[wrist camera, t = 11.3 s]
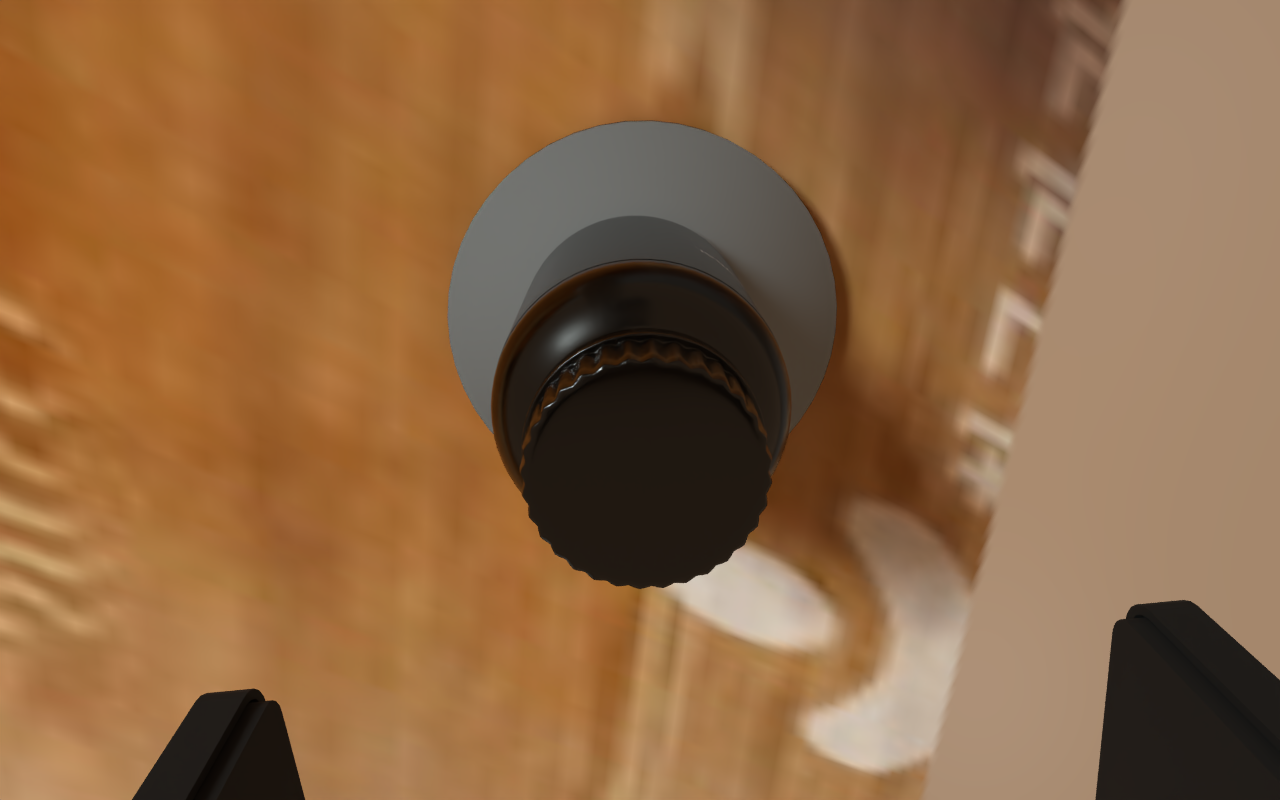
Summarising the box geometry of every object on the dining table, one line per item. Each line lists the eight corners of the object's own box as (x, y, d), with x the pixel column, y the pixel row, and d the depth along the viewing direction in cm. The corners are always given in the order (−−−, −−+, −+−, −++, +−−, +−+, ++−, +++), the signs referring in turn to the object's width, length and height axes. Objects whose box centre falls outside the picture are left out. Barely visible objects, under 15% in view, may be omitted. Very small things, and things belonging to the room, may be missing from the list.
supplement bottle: (775, 247, 28) (890, 367, 17) (703, 448, 30) (762, 676, 19) (555, 179, 27) (519, 256, 16) (497, 391, 29) (428, 594, 18)
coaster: (422, 139, 27) (417, 141, 27) (827, 102, 27) (833, 103, 27) (481, 505, 31) (478, 516, 31) (833, 472, 31) (839, 482, 31)
